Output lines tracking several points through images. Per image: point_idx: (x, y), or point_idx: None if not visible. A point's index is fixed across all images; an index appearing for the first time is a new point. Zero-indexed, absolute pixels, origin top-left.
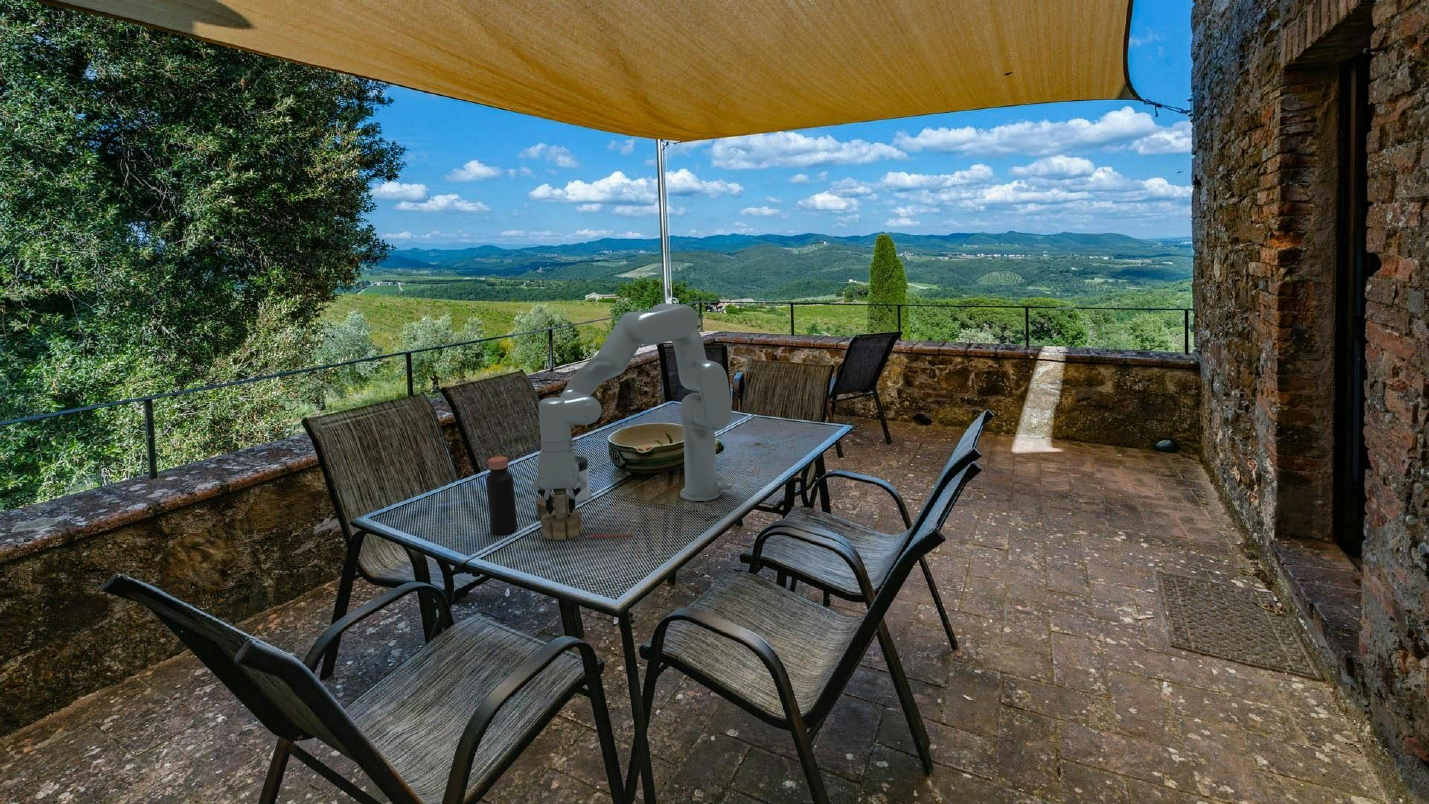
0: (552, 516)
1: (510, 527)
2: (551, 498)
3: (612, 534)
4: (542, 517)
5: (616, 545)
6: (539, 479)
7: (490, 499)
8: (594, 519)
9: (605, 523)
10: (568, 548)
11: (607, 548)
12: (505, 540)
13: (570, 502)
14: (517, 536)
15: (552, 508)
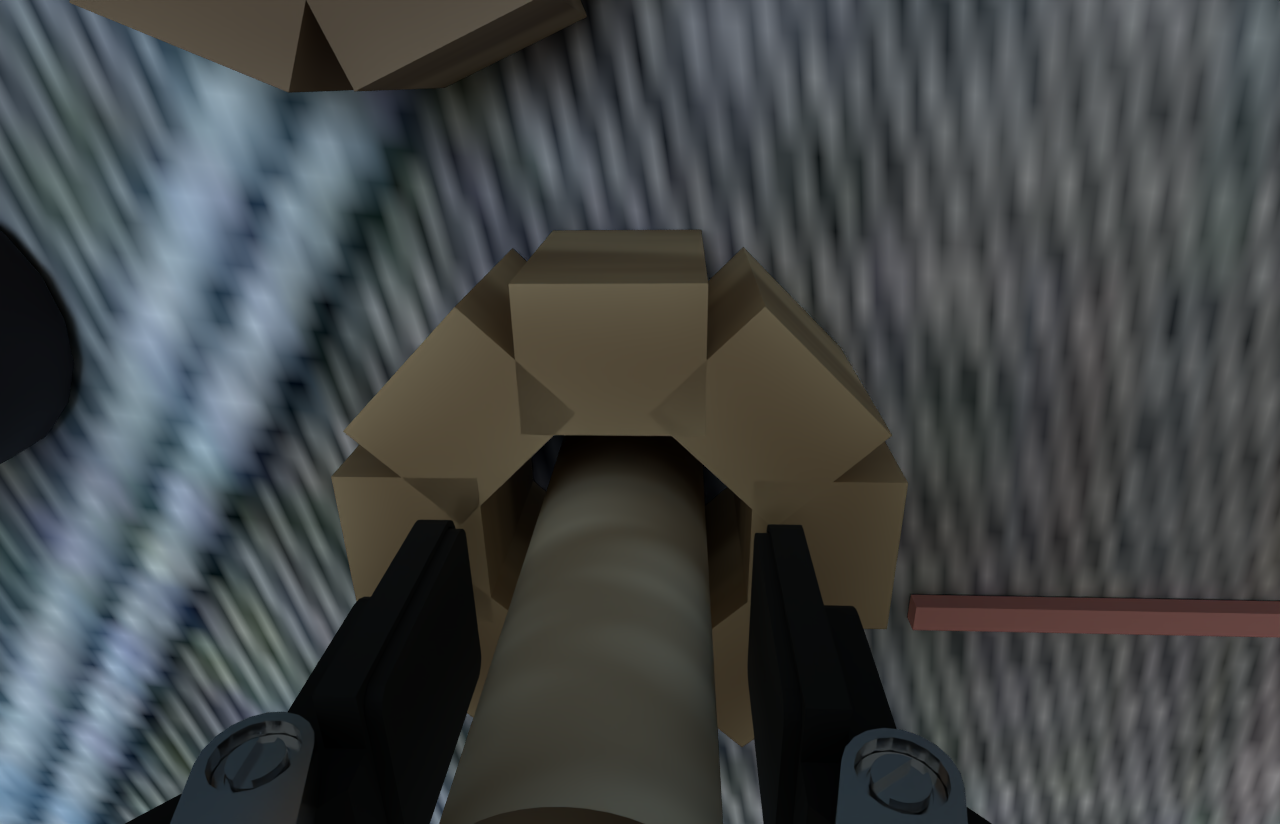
0: (484, 545)
1: (8, 450)
2: (395, 782)
3: (1190, 613)
4: (352, 563)
5: (1175, 767)
6: None
7: None
8: (1020, 63)
9: (1159, 235)
10: (744, 767)
11: (1085, 804)
12: (104, 565)
13: None
14: (175, 492)
15: (458, 616)
